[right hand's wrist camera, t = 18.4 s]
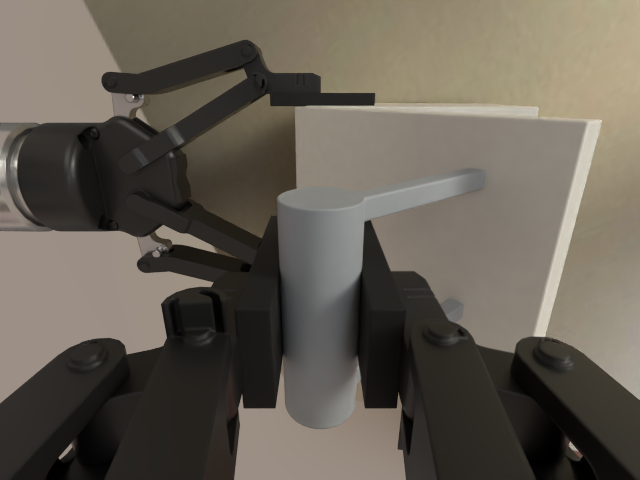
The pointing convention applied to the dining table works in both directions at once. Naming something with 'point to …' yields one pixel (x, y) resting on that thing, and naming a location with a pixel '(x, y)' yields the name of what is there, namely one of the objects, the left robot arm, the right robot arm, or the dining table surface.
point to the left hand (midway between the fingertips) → (368, 178)
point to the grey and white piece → (421, 230)
